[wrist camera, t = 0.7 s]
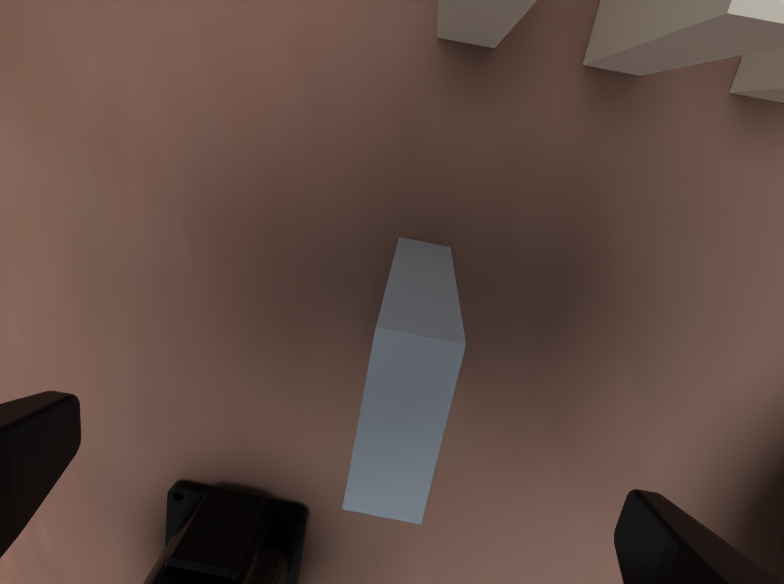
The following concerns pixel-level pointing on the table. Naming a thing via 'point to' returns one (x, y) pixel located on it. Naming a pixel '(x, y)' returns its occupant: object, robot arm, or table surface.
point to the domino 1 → (407, 385)
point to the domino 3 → (680, 33)
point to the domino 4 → (761, 75)
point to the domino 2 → (479, 20)
